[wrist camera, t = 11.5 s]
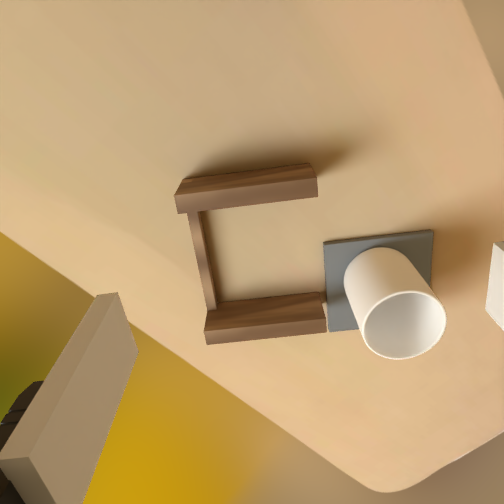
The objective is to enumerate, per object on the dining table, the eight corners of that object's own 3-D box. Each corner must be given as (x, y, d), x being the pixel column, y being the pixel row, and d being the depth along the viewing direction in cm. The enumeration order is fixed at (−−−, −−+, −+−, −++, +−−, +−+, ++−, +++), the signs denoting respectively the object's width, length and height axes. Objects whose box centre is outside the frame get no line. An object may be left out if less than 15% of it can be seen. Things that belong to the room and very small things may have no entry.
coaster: (323, 242, 51) (324, 245, 50) (430, 229, 50) (433, 232, 50) (328, 328, 57) (329, 332, 56) (425, 318, 56) (427, 321, 55)
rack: (182, 179, 48) (173, 195, 42) (309, 163, 47) (316, 177, 41) (211, 316, 56) (206, 344, 50) (319, 304, 55) (326, 332, 50)
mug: (385, 331, 56) (413, 389, 46) (327, 275, 52) (345, 326, 42) (440, 292, 53) (481, 345, 44) (383, 231, 49) (414, 274, 40)
